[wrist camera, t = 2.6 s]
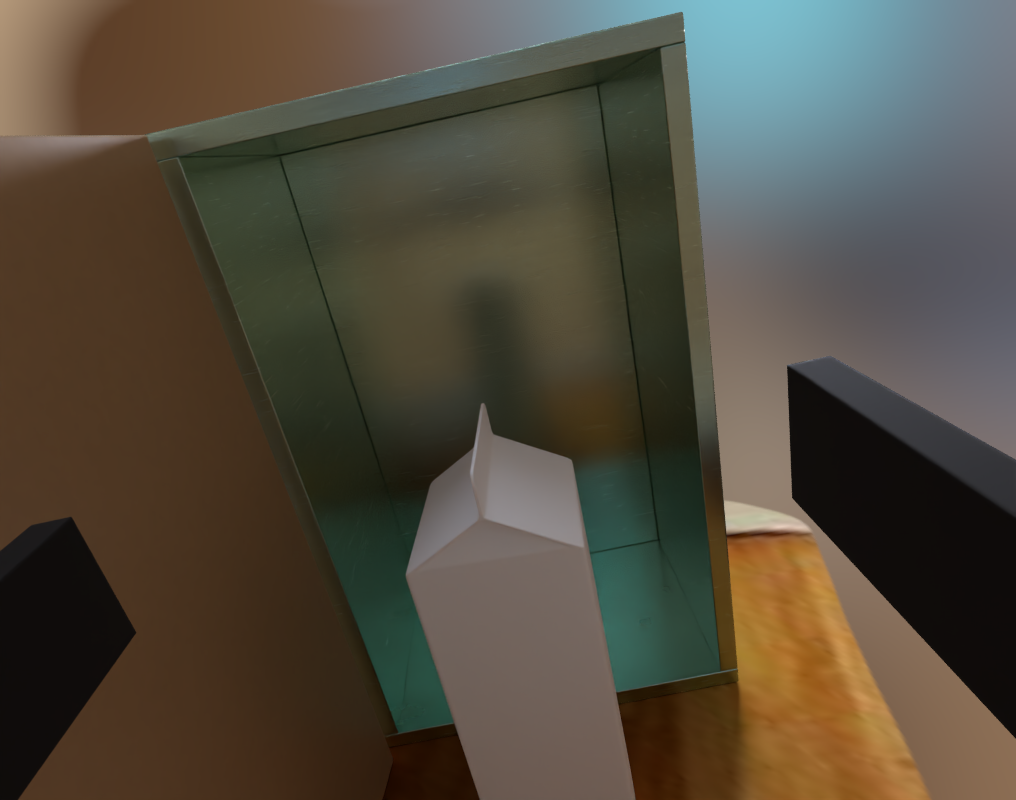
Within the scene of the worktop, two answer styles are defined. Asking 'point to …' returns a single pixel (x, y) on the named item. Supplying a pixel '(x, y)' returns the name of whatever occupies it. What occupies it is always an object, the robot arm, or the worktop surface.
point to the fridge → (480, 330)
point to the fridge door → (163, 500)
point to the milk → (519, 625)
